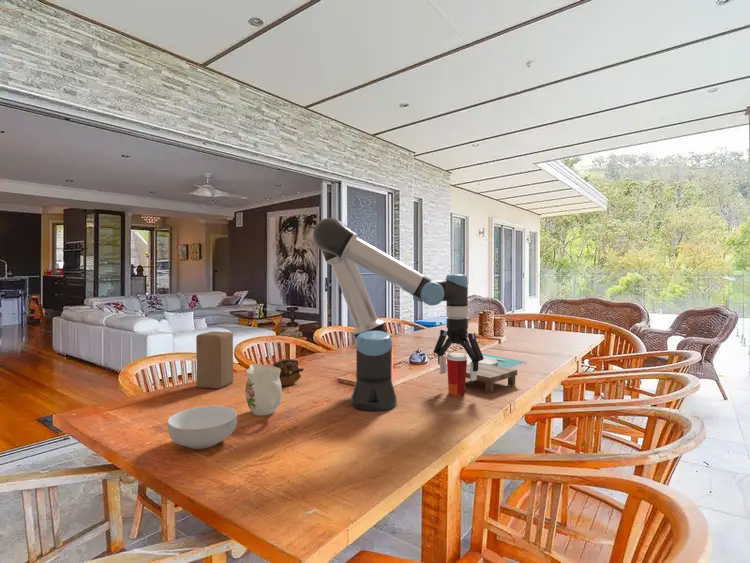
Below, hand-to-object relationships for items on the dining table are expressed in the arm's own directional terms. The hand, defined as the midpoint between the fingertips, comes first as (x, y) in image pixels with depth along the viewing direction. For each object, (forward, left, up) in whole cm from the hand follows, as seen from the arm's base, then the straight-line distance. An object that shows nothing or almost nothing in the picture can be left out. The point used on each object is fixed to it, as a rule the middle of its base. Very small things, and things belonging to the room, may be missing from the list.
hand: (457, 376), depth 157 cm
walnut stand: (+17, 0, -6) cm, 18 cm away
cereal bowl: (-84, +17, -6) cm, 86 cm away
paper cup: (0, 0, -6) cm, 6 cm away
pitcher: (-61, +27, -6) cm, 67 cm away
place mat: (+46, +24, -7) cm, 52 cm away
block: (-60, +68, -6) cm, 91 cm away
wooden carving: (-40, +50, -6) cm, 65 cm away
